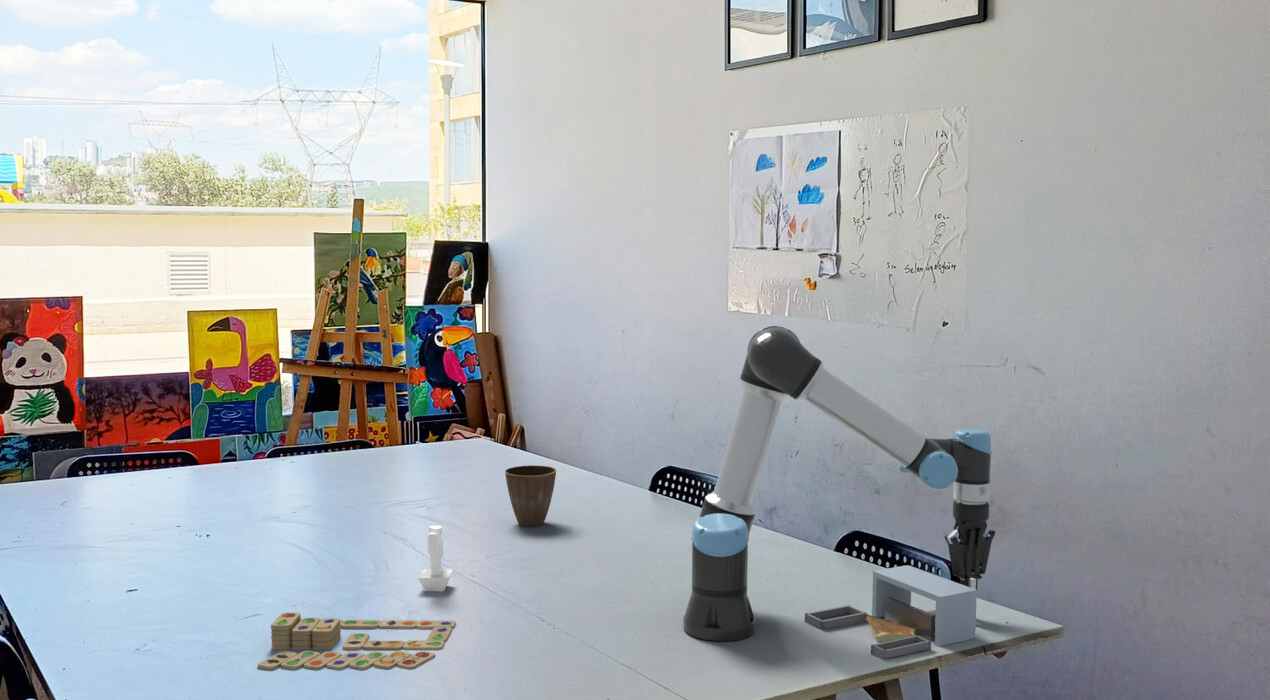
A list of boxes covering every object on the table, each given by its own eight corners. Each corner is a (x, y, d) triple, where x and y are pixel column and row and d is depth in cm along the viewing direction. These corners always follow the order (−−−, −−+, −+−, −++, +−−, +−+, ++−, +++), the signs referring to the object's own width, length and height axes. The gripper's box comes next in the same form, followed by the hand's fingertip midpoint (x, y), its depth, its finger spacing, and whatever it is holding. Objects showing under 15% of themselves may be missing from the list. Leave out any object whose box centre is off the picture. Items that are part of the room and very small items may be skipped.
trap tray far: (822, 630, 229) (822, 621, 229) (804, 621, 234) (804, 613, 234) (866, 621, 235) (866, 613, 235) (848, 613, 240) (848, 605, 240)
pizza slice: (866, 622, 236) (866, 612, 235) (909, 623, 235) (909, 613, 235) (874, 643, 223) (874, 633, 222) (920, 645, 222) (920, 634, 222)
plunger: (930, 639, 223) (931, 610, 222) (884, 619, 235) (885, 592, 235) (985, 627, 230) (986, 599, 230) (938, 609, 243) (939, 582, 242)
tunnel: (939, 646, 220) (940, 597, 219) (872, 616, 238) (873, 571, 237) (975, 638, 225) (976, 589, 224) (906, 609, 242) (907, 565, 242)
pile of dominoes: (251, 673, 206) (250, 644, 206) (294, 624, 233) (294, 599, 233) (434, 673, 206) (434, 644, 206) (456, 625, 233) (456, 599, 233)
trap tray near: (884, 660, 212) (884, 651, 212) (870, 653, 216) (871, 644, 215) (930, 650, 218) (930, 641, 218) (916, 643, 221) (916, 635, 221)
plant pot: (554, 530, 311) (553, 475, 310) (502, 530, 312) (501, 475, 310) (558, 518, 326) (558, 465, 325) (508, 517, 326) (508, 465, 325)
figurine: (454, 582, 262) (453, 521, 260) (448, 594, 252) (447, 531, 251) (424, 582, 262) (423, 521, 260) (417, 594, 252) (416, 531, 251)
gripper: (961, 507, 229) (958, 616, 231) (1006, 501, 235) (1002, 607, 237) (936, 500, 235) (933, 606, 237) (980, 494, 242) (976, 597, 244)
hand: (968, 607), depth 237 cm, fingers closed
